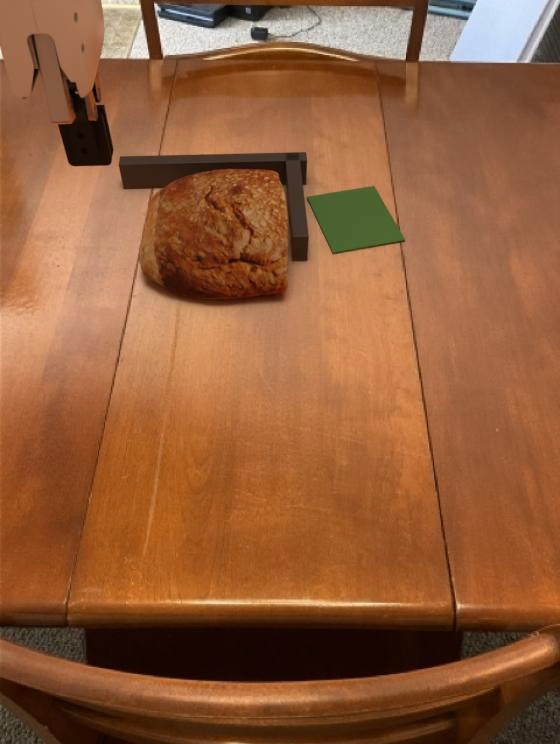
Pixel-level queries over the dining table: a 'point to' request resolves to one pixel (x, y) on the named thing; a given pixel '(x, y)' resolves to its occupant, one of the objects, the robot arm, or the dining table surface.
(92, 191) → the dining table surface
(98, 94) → the robot arm
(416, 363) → the dining table surface
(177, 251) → the bread
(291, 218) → the corner stop
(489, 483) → the dining table surface
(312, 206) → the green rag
